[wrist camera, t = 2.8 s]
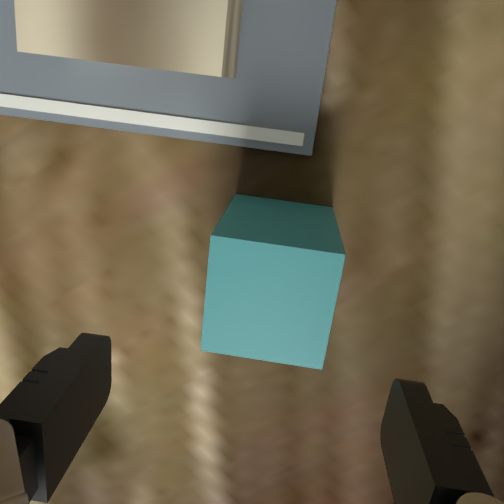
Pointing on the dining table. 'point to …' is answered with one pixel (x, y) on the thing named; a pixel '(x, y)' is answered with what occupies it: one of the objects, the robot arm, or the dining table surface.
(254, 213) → the teal block
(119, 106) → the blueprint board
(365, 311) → the dining table surface
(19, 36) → the base block
